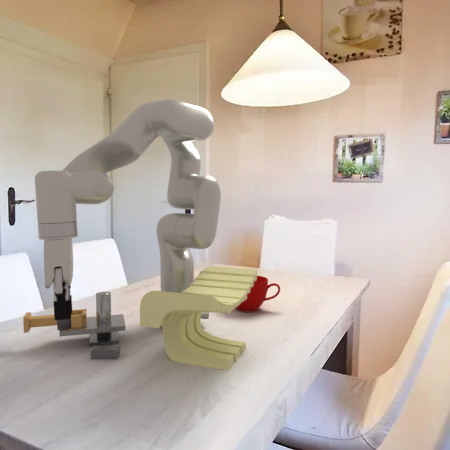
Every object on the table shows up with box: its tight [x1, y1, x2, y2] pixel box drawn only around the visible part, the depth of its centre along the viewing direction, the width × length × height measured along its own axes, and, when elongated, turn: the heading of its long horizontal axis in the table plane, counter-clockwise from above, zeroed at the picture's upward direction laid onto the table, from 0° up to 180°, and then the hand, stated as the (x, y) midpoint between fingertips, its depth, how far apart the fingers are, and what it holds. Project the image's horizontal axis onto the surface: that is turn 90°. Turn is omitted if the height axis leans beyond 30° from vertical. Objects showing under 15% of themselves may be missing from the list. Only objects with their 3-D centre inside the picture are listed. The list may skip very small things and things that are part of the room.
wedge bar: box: [90, 344, 121, 360], centre depth 90 cm, size 6×3×2 cm, turn 92°
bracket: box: [22, 308, 88, 334], centre depth 97 cm, size 14×6×4 cm, turn 108°
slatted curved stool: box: [139, 265, 258, 371], centre depth 92 cm, size 30×16×18 cm, turn 160°
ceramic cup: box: [236, 275, 281, 313], centre depth 129 cm, size 13×17×10 cm
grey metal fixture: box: [58, 291, 126, 347], centre depth 100 cm, size 15×10×12 cm, turn 108°
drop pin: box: [56, 283, 72, 331], centre depth 84 cm, size 3×3×9 cm
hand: (63, 315), depth 85 cm, fingers closed on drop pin, 2 cm apart
